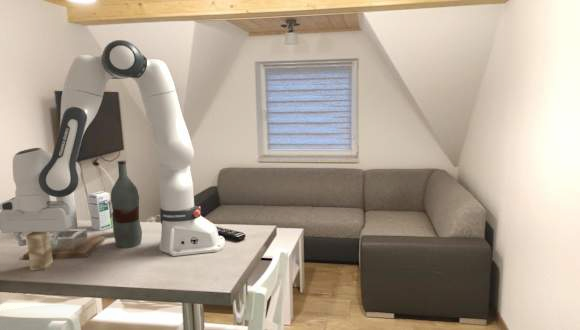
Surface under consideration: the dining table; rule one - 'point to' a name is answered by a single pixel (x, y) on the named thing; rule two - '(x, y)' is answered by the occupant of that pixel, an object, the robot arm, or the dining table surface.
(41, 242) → the birch pin
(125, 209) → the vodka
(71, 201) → the travel mug
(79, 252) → the walnut base
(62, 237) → the steel collar
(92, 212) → the syrup box
